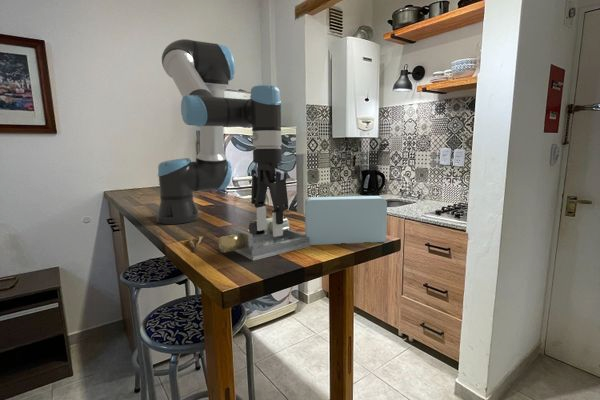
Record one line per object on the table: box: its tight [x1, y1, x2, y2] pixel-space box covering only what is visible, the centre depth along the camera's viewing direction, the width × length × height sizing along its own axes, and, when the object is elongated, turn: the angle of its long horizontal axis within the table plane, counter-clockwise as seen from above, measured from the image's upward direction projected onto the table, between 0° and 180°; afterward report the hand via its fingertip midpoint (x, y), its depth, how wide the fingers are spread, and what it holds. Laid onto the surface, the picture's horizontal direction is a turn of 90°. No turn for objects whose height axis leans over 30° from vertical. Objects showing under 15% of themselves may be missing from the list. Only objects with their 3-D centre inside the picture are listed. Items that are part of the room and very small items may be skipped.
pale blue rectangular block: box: [304, 195, 388, 246], centre depth 94 cm, size 23×6×13 cm, turn 93°
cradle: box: [218, 227, 311, 261], centre depth 88 cm, size 23×13×6 cm, turn 128°
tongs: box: [188, 235, 204, 254], centre depth 92 cm, size 4×13×2 cm, turn 21°
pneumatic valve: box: [248, 215, 291, 235], centre depth 99 cm, size 6×12×12 cm
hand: (269, 232), depth 89 cm, fingers open, 7 cm apart
